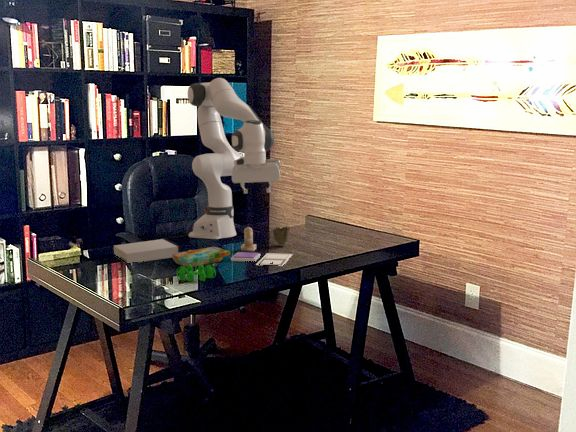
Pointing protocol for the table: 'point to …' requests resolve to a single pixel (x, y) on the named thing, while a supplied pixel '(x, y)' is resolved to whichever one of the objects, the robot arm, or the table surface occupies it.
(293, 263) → the table surface
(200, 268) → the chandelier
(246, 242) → the stamp
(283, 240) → the cup
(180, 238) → the table surface
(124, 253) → the disc drive
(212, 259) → the multicoloured oblong shape
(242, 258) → the ink pad
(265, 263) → the form
